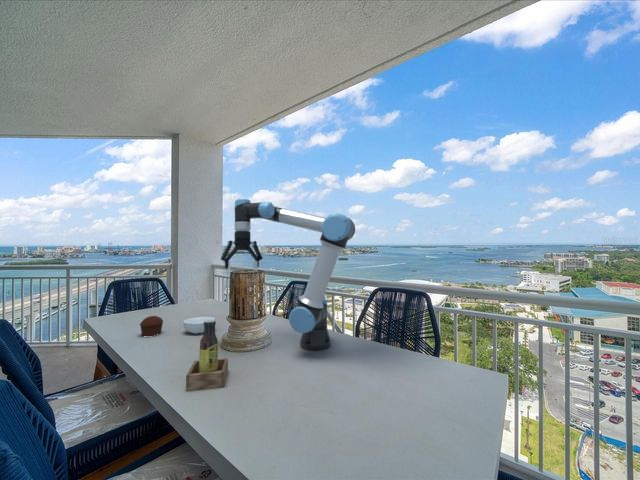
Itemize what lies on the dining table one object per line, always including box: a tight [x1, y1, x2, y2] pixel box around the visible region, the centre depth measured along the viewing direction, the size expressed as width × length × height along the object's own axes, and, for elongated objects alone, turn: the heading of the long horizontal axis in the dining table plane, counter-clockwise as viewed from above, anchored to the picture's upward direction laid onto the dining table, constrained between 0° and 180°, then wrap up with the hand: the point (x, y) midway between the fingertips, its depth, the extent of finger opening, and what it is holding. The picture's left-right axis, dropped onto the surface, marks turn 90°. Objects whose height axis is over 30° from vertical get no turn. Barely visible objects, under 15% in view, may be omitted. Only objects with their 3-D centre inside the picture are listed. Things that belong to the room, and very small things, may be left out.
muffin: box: [139, 315, 164, 337], centre depth 157 cm, size 12×11×10 cm
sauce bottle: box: [198, 319, 219, 373], centre depth 101 cm, size 7×6×20 cm
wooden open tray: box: [185, 357, 229, 392], centre depth 101 cm, size 12×13×5 cm
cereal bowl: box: [182, 316, 216, 335], centre depth 162 cm, size 17×17×7 cm
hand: (242, 274), depth 136 cm, fingers open, 13 cm apart
